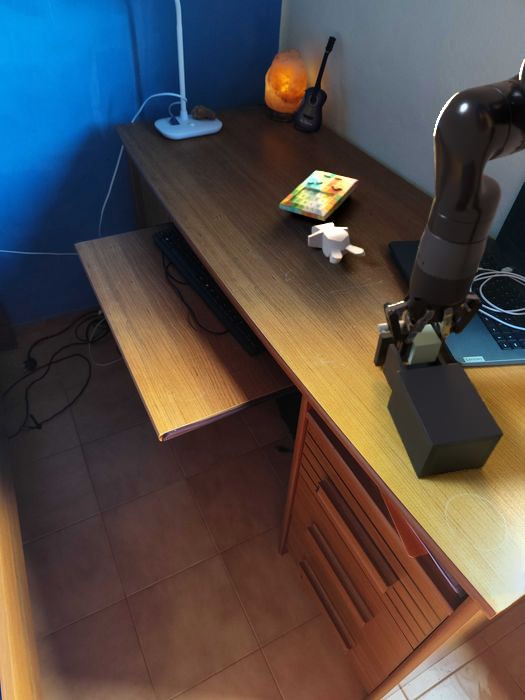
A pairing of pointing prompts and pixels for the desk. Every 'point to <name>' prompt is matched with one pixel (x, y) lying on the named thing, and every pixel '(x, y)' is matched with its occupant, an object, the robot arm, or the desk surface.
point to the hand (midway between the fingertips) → (417, 352)
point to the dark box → (442, 420)
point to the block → (424, 346)
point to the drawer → (395, 356)
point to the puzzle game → (319, 195)
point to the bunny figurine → (333, 241)
